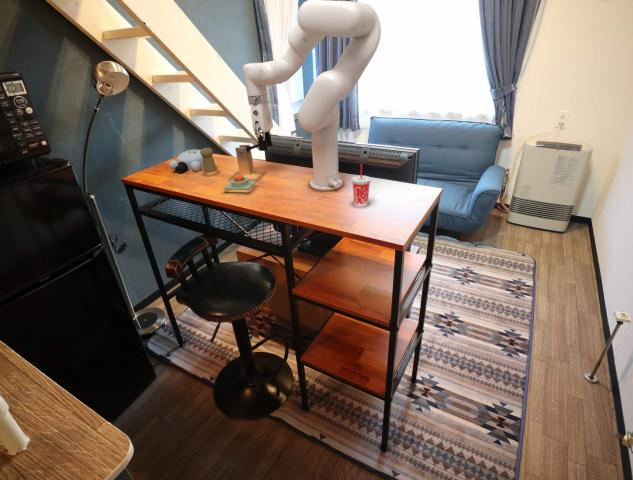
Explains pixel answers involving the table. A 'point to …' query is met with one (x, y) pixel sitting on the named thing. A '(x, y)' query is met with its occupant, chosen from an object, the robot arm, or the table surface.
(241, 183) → the button block
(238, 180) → the button
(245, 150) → the bracket
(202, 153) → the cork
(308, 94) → the robot arm
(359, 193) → the beverage cup
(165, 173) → the table surface
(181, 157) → the figurine
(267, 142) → the lever
